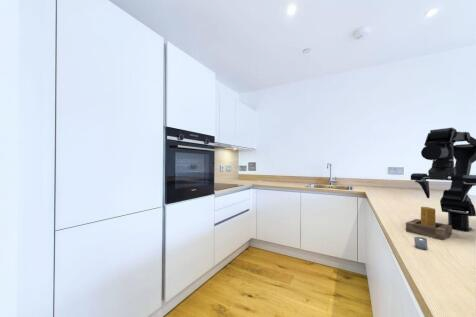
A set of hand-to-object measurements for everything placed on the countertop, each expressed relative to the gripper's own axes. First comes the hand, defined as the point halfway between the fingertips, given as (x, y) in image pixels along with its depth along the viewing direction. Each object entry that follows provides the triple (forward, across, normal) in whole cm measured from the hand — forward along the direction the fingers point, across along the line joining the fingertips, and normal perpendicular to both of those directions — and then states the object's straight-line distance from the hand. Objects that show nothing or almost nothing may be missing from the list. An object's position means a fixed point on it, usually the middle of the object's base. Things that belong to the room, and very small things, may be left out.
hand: (444, 200), depth 75 cm
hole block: (+13, -4, -5) cm, 14 cm away
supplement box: (+13, -4, -5) cm, 15 cm away
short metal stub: (+13, 0, -25) cm, 28 cm away
